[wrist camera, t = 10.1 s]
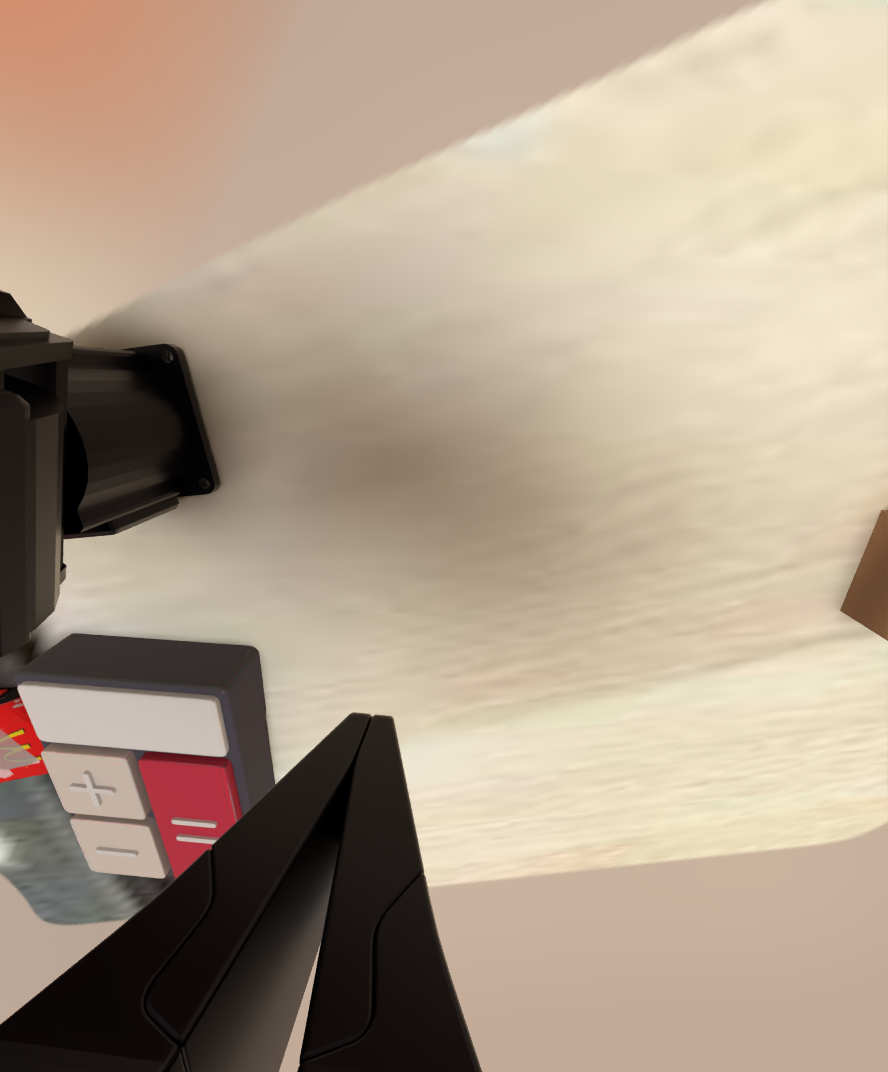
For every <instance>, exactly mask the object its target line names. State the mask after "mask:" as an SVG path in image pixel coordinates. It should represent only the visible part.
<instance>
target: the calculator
mask: <svg viewBox="0 0 888 1072" xmlns="http://www.w3.org/2000/svg"><path fill="white" fill-rule="evenodd" d="M14 679H15V682H16V684H17V687H18V688H17V689H18V692H19V694H20V697H21V699H22V701H23V704H24V706H25V708H26V711H27V713H28V715H29V718H30V720H31V722H32V725H33V727H34V729H35V732H36V734H37V736H38V738H39V739H40V741H41V743H42V745H43V748H44V750H43V751H42V752H41V755H42V758H43V761H44V763H45V765H46V768H47V770H48V772H49V775H50V777H51V779H52V781H53V784H54V786H55V788H56V791H57V793H58V795H59V798H60V800H61V802H62V805H63V807H64V809H65V810H66V811H67V812H69V813H72V816H73V817H72V819H71V820H70V822H71V825H72V828H73V830H74V832H75V835H76V837H77V839H78V842H79V844H80V846H81V848H82V851H83V853H84V855H85V858H86V860H87V862H88V865H89V867H90V869H91V870H92V871H96V872H104V873H113V874H123V875H133V876H142V877H152V878H165V876H166V875H167V873H173V874H174V877H175V878H177V877H178V876H179V875H180V874H181V873H182V872H184V871H185V870H186V869H187V868H188V867H189V866H190V865H191V864H192V863H193V862H194V861H195V860H196V859H197V858H198V857H200V856H201V855H202V854H203V853H204V852H205V851H206V850H207V849H210V850H211V846H212V844H214V843H215V842H216V841H217V840H218V839H219V838H220V837H221V836H222V835H223V834H224V833H225V832H226V831H227V830H228V829H229V828H230V827H231V826H232V825H234V824H235V823H236V822H237V821H238V820H239V819H240V818H241V817H242V816H243V815H244V814H245V813H246V812H247V811H248V810H249V809H250V808H251V807H252V806H254V805H255V804H256V803H257V802H258V801H259V800H260V799H261V798H262V797H263V796H264V795H265V794H266V793H267V792H268V791H269V790H270V789H271V788H273V787H274V786H275V780H274V774H273V767H272V761H271V755H270V749H269V742H268V736H267V730H266V724H265V712H266V705H265V697H264V689H263V680H262V672H261V664H260V657H259V652H258V650H257V649H256V648H254V647H252V646H243V645H229V644H215V643H201V642H188V641H174V640H160V639H146V638H132V637H118V636H104V635H90V634H71V635H69V636H68V637H66V638H65V639H63V640H62V641H61V642H59V643H58V644H56V645H55V646H53V647H52V648H50V649H49V650H47V651H46V652H45V653H43V654H42V655H40V656H39V657H37V658H36V659H34V660H33V661H31V662H30V663H29V664H27V665H26V666H24V667H23V668H21V669H20V670H19V671H17V672H16V673H15V675H14Z"/></svg>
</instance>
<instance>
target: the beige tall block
mask: <svg viewBox="0 0 888 1072" xmlns="http://www.w3.org/2000/svg"><path fill="white" fill-rule="evenodd" d="M840 611H842V612H843V613H845V614H846V615H848V616H850V617H851V618H853V619H854V620H856V621H857V622H859V623H861V624H862V625H864V626H865V627H867V628H868V629H870V630H872V631H873V632H875V633H876V634H878V635H880V636H881V637H883V638H884V639H886V640H887V641H888V511H883V510H881V513H880V515H879V518H878V520H877V523H876V525H875V527H874V530H873V532H872V535H871V537H870V540H869V542H868V544H867V547H866V549H865V552H864V554H863V557H862V559H861V561H860V564H859V566H858V569H857V571H856V573H855V576H854V578H853V581H852V583H851V586H850V588H849V590H848V593H847V595H846V598H845V600H844V603H843V605H842V607H841V610H840Z"/></svg>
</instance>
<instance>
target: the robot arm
mask: <svg viewBox="0 0 888 1072" xmlns="http://www.w3.org/2000/svg"><path fill="white" fill-rule="evenodd" d="M168 352H171V354H172V356H173V360H172V362H170V361H169V360H168V358H167V354H168ZM204 479H207V480H208V481H209V483H210V486H209V487H208V486H206V485H205V483H204ZM218 488H219V479H218V475H217V471H216V468H215V464H214V461H213V457H212V454H211V450H210V447H209V443H208V440H207V436H206V432H205V429H204V425H203V422H202V418H201V415H200V411H199V408H198V404H197V400H196V397H195V393H194V390H193V386H192V383H191V379H190V376H189V372H188V368H187V365H186V361H185V358H184V355H183V353H182V351H181V350H180V349H179V348H178V347H177V346H175V345H169V344H159V345H151V346H144V347H137V348H129V349H122V350H115V349H103V348H91V347H79V346H73V341H72V340H70V339H67V338H65V337H62V336H59V335H56V334H52V333H50V331H49V330H47V329H45V328H43V327H40V326H38V325H35V324H33V323H32V319H29V318H27V317H26V315H25V314H24V313H23V311H22V310H21V308H20V307H19V305H18V304H17V303H16V301H15V300H14V299H13V297H12V296H11V295H10V294H9V293H6V292H3V291H1V290H0V658H1V657H3V656H5V655H6V654H8V653H10V652H12V651H14V650H16V649H18V648H20V647H22V646H24V645H26V644H27V643H28V642H29V641H30V632H32V631H33V630H35V629H36V628H37V627H38V626H39V625H40V624H41V623H42V622H43V621H44V620H45V619H46V618H47V617H48V616H49V615H50V614H51V613H53V612H54V610H55V607H56V604H57V600H58V597H59V594H60V584H61V583H62V582H63V581H64V580H65V578H66V565H65V564H64V563H63V539H72V538H83V537H94V536H105V535H114V534H117V533H119V532H122V531H124V530H126V529H129V528H131V527H133V526H136V525H138V524H140V523H143V522H145V521H147V520H150V519H152V518H154V517H157V516H159V515H161V514H164V513H166V512H168V511H171V510H173V509H175V508H176V507H177V506H178V505H179V500H178V497H183V496H193V495H204V494H209V493H212V492H214V491H216V490H217V489H218ZM321 939H322V940H321ZM320 942H321V946H320ZM319 946H320V951H319V956H318V962H317V968H316V973H315V978H314V984H313V989H312V995H311V1000H310V1006H309V1011H308V1017H307V1022H306V1028H305V1033H304V1039H303V1044H302V1049H301V1054H300V1066H299V1068H298V1071H297V1072H482V1070H481V1067H480V1064H479V1061H478V1058H477V1055H476V1052H475V1049H474V1046H473V1043H472V1040H471V1037H470V1034H469V1031H468V1028H467V1025H466V1022H465V1019H464V1016H463V1013H462V1010H461V1007H460V1003H459V1000H458V997H457V994H456V991H455V988H454V985H453V982H452V979H451V976H450V973H449V969H448V966H447V962H446V960H445V956H444V952H443V949H442V945H441V942H440V939H439V935H438V932H437V927H436V923H435V918H434V914H433V910H432V906H431V902H430V897H429V892H428V887H427V882H426V877H425V875H424V868H423V863H422V858H421V853H420V848H419V843H418V838H417V833H416V828H415V823H414V818H413V813H412V808H411V803H410V798H409V793H408V788H407V783H406V778H405V773H404V768H403V763H402V759H401V754H400V749H399V744H398V739H397V734H396V729H395V724H394V719H393V717H391V716H385V715H374V716H373V717H372V716H371V715H370V714H365V713H355V712H354V713H351V714H350V715H348V716H347V717H346V718H345V719H344V720H343V721H342V722H341V723H340V724H339V725H338V726H337V727H336V728H335V729H334V730H333V731H332V732H330V733H329V734H328V735H327V736H326V737H325V738H324V739H323V740H322V741H321V742H320V743H319V744H318V745H317V746H316V747H315V748H314V749H313V750H312V751H310V752H309V753H308V754H307V755H306V756H305V757H304V758H303V759H302V760H301V761H300V762H299V763H298V764H297V765H296V766H295V767H294V768H293V769H291V770H290V771H289V772H288V773H287V774H286V775H285V776H284V777H283V778H282V779H281V780H280V781H279V782H278V783H277V784H276V785H275V786H274V787H273V788H271V789H270V790H269V791H268V792H267V793H266V794H265V795H264V796H263V797H262V798H261V799H260V800H259V801H258V802H257V803H256V804H255V805H254V806H252V807H251V808H250V809H249V810H248V811H247V812H246V813H245V814H244V815H243V816H242V817H241V818H240V819H239V820H238V821H237V822H236V823H235V824H234V825H232V826H231V827H230V828H229V829H228V830H227V831H226V832H225V833H224V834H223V835H222V836H221V837H220V838H219V839H218V840H217V841H216V842H215V843H214V844H212V846H211V850H210V849H207V850H206V851H205V852H204V853H203V854H202V855H201V856H200V857H198V858H197V859H196V860H195V861H194V862H193V863H192V864H191V865H190V866H189V867H188V868H187V869H186V870H185V871H184V872H182V873H181V874H180V875H179V876H178V877H177V878H176V879H175V880H174V881H173V882H171V883H170V884H169V885H168V886H167V887H166V888H165V889H164V890H163V891H162V892H160V893H159V894H158V895H157V896H156V897H155V898H154V899H153V900H152V901H150V902H149V903H148V904H147V905H146V906H144V907H143V908H142V909H141V910H140V911H138V912H137V913H136V914H135V915H134V916H133V917H131V918H130V919H129V920H128V921H127V922H125V924H123V925H122V926H121V927H119V928H118V929H117V930H116V931H115V932H114V933H112V934H111V935H110V936H109V937H107V938H106V939H105V940H104V941H102V942H101V943H100V944H99V945H98V946H96V947H95V948H94V949H93V950H91V951H90V952H89V953H88V954H87V955H85V956H84V957H83V958H82V959H80V960H79V961H78V962H77V963H76V964H74V965H73V966H72V967H71V968H69V969H68V970H67V971H66V972H65V973H64V974H62V975H61V976H59V977H58V978H57V979H56V980H55V981H53V982H52V983H51V984H50V985H48V986H47V987H46V988H45V989H43V991H41V992H40V993H39V994H37V995H36V996H35V997H34V998H32V999H31V1000H30V1001H29V1002H28V1003H26V1004H25V1005H24V1006H23V1007H21V1008H20V1009H19V1010H18V1011H16V1012H15V1013H14V1014H13V1015H12V1016H10V1017H9V1018H8V1019H7V1020H6V1021H4V1022H3V1023H2V1024H0V1072H279V1069H280V1066H281V1063H282V1060H283V1057H284V1054H285V1051H286V1047H287V1045H288V1041H289V1038H290V1035H291V1032H292V1029H293V1026H294V1023H295V1020H296V1017H297V1014H298V1010H299V1007H300V1004H301V1001H302V998H303V995H304V992H305V989H306V985H307V983H308V980H309V976H310V973H311V970H312V967H313V964H314V961H315V958H316V954H317V952H318V948H319Z"/></svg>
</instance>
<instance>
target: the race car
mask: <svg viewBox="0 0 888 1072" xmlns="http://www.w3.org/2000/svg"><path fill="white" fill-rule="evenodd" d="M17 688H18V687H16V688H14V689H12V690H10V691H9V690H8V689H4V690H0V783H2V782H7V781H11V780H15V779H21V778H26V777H31V776H36V775H43V774H47V773H49V772H48V770H47V768H46V765H45V763H44V761H43V758H42V755H41V752H42V751H43V750H44V748H43V745H42V743H41V741H40V739H39V738H38V736H37V734H36V732H35V729H34V727H33V725H32V722H31V720H30V718H29V715H28V713H27V711H26V708H25V706H24V704H23V701H22V699H21V697H20V694H19V692H18V689H17Z"/></svg>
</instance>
